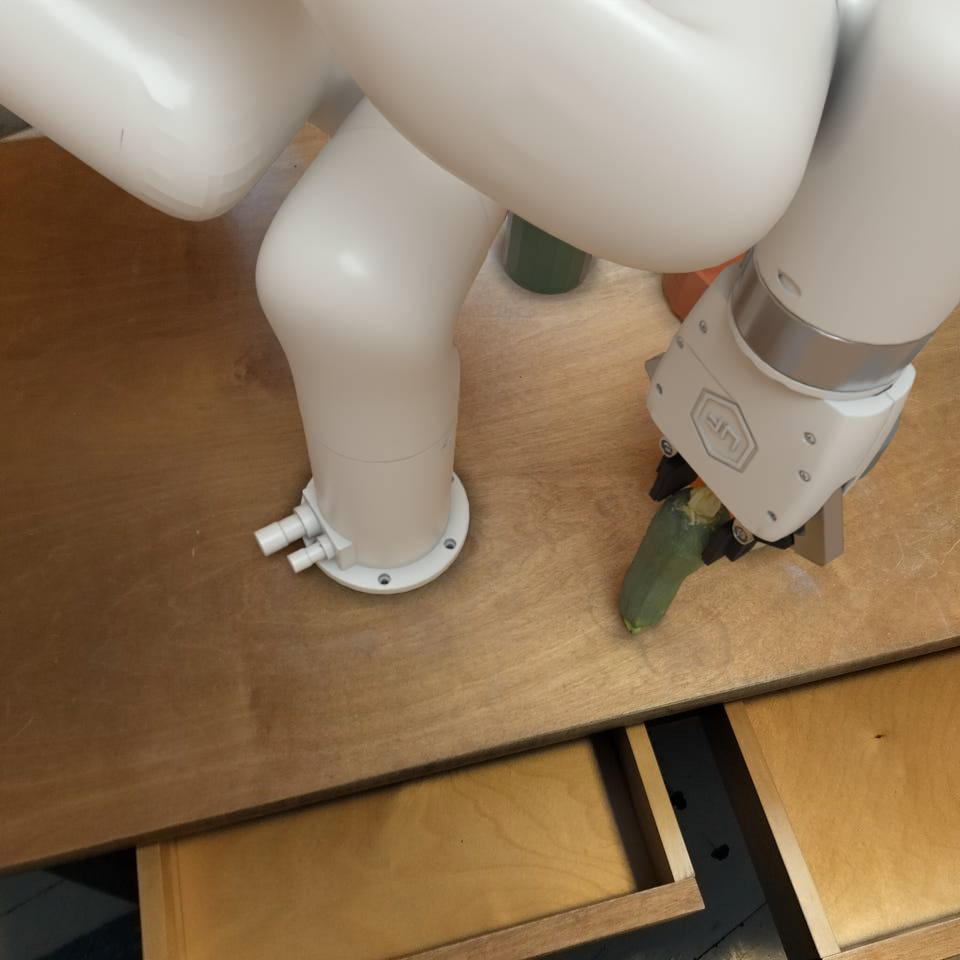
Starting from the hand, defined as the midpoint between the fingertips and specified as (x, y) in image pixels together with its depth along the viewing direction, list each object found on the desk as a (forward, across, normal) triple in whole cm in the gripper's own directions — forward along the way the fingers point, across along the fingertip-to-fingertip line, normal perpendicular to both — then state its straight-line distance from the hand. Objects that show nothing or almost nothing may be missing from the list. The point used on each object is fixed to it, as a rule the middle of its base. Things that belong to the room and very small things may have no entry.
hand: (697, 517), depth 49 cm
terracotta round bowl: (+15, -20, +28) cm, 37 cm away
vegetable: (+15, 0, 0) cm, 15 cm away
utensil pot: (+15, -32, +14) cm, 38 cm away
